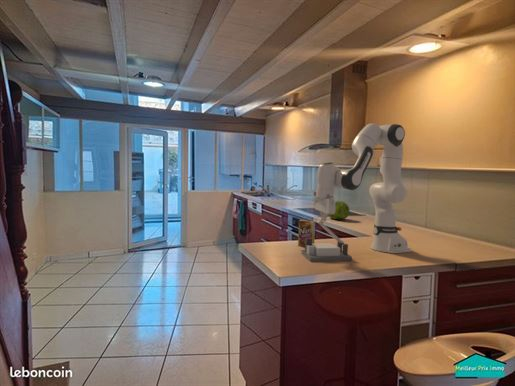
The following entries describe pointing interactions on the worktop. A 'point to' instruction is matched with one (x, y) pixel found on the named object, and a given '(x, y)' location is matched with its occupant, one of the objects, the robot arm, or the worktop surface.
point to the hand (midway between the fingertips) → (323, 220)
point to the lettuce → (340, 211)
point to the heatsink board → (327, 258)
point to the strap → (329, 231)
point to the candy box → (306, 231)
